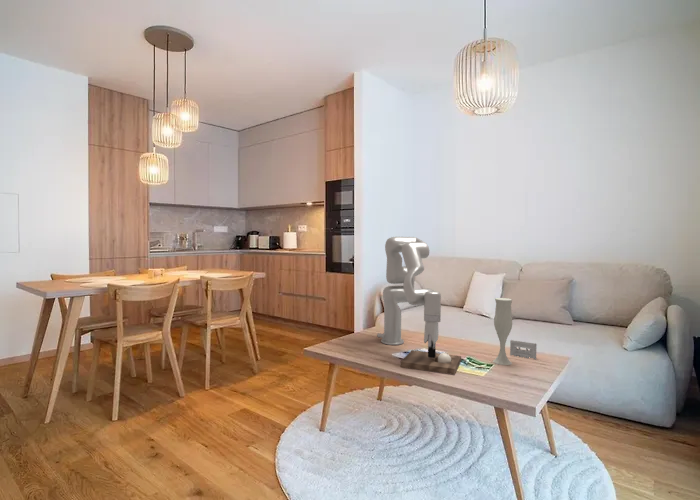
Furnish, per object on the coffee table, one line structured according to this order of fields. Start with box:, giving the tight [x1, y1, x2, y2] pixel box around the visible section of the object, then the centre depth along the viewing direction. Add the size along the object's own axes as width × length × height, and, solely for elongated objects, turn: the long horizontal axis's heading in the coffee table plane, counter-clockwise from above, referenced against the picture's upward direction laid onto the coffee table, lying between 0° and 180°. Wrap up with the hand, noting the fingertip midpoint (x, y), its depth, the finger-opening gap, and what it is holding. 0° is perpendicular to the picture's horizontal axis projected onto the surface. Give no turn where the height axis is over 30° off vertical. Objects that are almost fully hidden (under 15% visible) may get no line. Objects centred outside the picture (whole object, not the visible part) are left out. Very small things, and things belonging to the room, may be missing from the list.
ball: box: [438, 352, 451, 363], centre depth 180 cm, size 6×6×6 cm
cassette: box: [509, 339, 538, 360], centre depth 195 cm, size 12×2×8 cm, turn 56°
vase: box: [492, 297, 513, 366], centre depth 186 cm, size 9×8×30 cm
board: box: [400, 349, 462, 376], centre depth 183 cm, size 24×20×2 cm
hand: (431, 357), depth 183 cm, fingers closed
